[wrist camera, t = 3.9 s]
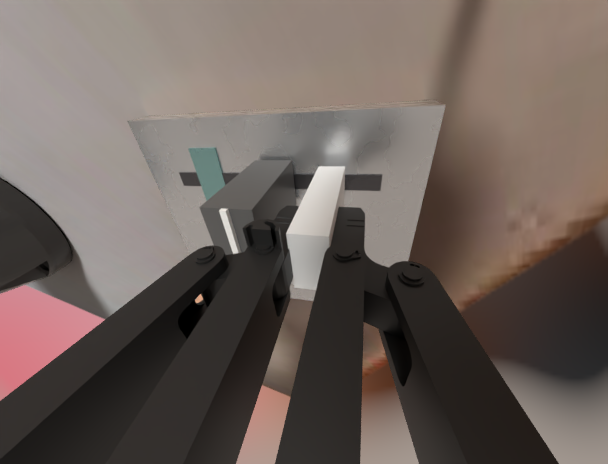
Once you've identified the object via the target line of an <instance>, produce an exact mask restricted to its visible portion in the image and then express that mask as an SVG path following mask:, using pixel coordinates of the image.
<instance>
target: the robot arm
mask: <svg viewBox="0 0 608 464" xmlns="http://www.w3.org/2000/svg"><path fill="white" fill-rule="evenodd" d="M344 192H345V166H319V167H318V169H317V171H316V173H315V175H314V177H313V179H312V181H311V183H310V185H309V187H308V189H307V191H306V193H305V195H304V197H303V199H302V202H301V204H300V206H288V205H287V206H285V207H284V208H283V209H281V210H280V211H279V213H278V214H277V216H276V218H275V219H274V220H269V219H260V220H256V221H252V222H250V223H248V224H247V225H245V226H244V227H243V228H242V229H243V232H244V236H245V239H246V243H247V249H246V250H245V252H242V253H236V254H229V255H225V252H224V250H223V248H221V247H219V246H214V245H212V246H205V247H202V248H200V249H198V250H196V251H194V252H193V253H191V254H190V255H189V256H187V257H186V258H185V259H184V260H182V261H181V262H180V263H178V264H177V265H176V266H175V267H173V268H172V269H171V270H169V271H168V272H167V273H165V274H164V275H163V276H162V277H160V278H159V279H158V280H156V281H155V282H154V283H152V284H151V285H150V286H149V287H147V288H146V289H145V290H143V291H142V292H141V293H140V294H138V295H137V296H136V297H134V298H133V299H132V300H130V301H129V302H128V303H127V304H125V305H124V306H123V307H121V308H120V309H119V310H118V311H116V312H115V313H114V314H112V315H111V316H110V317H108V318H107V319H106V320H105V321H103V322H102V323H101V324H100V325H98V326H97V327H96V328H94V329H93V330H92V331H90V332H89V333H88V334H86V335H85V336H84V337H83V338H81V339H80V340H79V341H78V342H76V343H75V344H73V345H72V346H71V347H70V348H68V349H67V350H66V351H64V352H63V353H62V354H61V355H59V356H58V357H57V358H55V359H54V360H53V361H51V362H50V363H49V364H48V365H46V366H45V367H44V368H42V369H41V370H40V371H39V372H37V373H36V374H35V375H33V376H32V377H31V378H29V379H28V380H27V381H26V382H24V383H23V384H22V385H20V386H19V387H18V388H17V389H15V390H14V391H13V392H11V393H10V394H9V395H8V396H6V397H5V398H4V399H2V400H1V401H0V464H236V461H237V458H238V455H239V452H240V449H241V446H242V443H243V440H244V437H245V434H246V431H247V428H248V425H249V422H250V419H251V415H252V413H253V410H254V407H255V404H256V401H257V398H258V395H259V392H260V389H261V386H262V383H263V380H264V377H265V374H266V371H267V368H268V365H269V362H270V358H271V355H272V352H273V349H274V346H275V343H276V340H277V337H278V334H279V331H280V328H281V325H282V322H283V319H284V316H285V313H286V310H287V307H288V304H289V301H290V296H291V292H290V285H291V282H292V280H293V284H294V288H302V289H310V290H316V292H315V297H314V301H313V305H312V309H311V314H310V318H309V322H308V326H307V331H306V335H305V339H304V343H303V348H302V352H301V356H300V360H299V365H298V369H297V373H296V377H295V382H294V386H293V390H292V394H291V399H290V403H289V407H288V412H287V416H286V420H285V424H284V428H283V433H282V437H281V441H280V445H279V450H278V454H277V458H276V462H275V464H360V444H361V443H360V442H361V401H362V360H363V322H366V323H368V324H370V325H372V326H374V327H376V328H379V333H380V336H381V339H382V343H383V346H384V349H385V353H386V356H387V359H388V362H389V366H390V369H391V372H392V375H393V379H394V382H395V386H396V389H397V392H398V395H399V399H400V402H401V405H402V409H403V412H404V415H405V419H406V422H407V425H408V428H409V432H410V435H411V438H412V442H413V445H414V448H415V452H416V455H417V458H418V461H419V464H559V463H558V462H557V461H556V459H555V457H554V456H553V454H552V453H551V451H550V450H549V448H548V447H547V445H546V443H545V442H544V440H543V439H542V437H541V436H540V434H539V433H538V431H537V430H536V428H535V427H534V425H533V424H532V422H531V421H530V419H529V418H528V416H527V415H526V413H525V412H524V410H523V409H522V407H521V405H520V404H519V403H518V401H517V399H516V398H515V396H514V395H513V393H512V392H511V390H510V389H509V387H508V386H507V384H506V383H505V381H504V380H503V378H502V376H501V375H500V373H499V372H498V370H497V369H496V367H495V366H494V364H493V363H492V361H491V360H490V358H489V357H488V355H487V354H486V352H485V351H484V349H483V348H482V346H481V345H480V343H479V341H478V340H477V339H476V337H475V335H474V334H473V333H472V331H471V330H470V328H469V326H468V325H467V323H466V322H465V320H464V319H463V317H462V316H461V314H460V313H459V311H458V310H457V308H456V306H455V305H454V303H453V302H452V300H451V299H450V297H449V296H448V294H447V293H446V291H445V290H444V288H443V287H442V285H441V284H440V282H439V281H438V279H437V278H436V276H435V275H434V274H433V273H432V272H431V270H430V269H428V268H427V267H425V266H423V265H421V264H418V263H415V262H411V261H401V262H396V263H394V264H393V265H391V266H390V267H386V266H383V265H380V264H378V263H375V262H374V261H372V260H371V259H370V258H369V257H368V256H367V255H366V253H365V249H364V242H365V213H364V211H363V210H362V209H361V208H358V207H344ZM71 258H72V254H71V249H70V247H69V244H68V242H67V240H66V239H65V237H64V236H63V234H62V233H61V231H60V230H59V229H58V227H57V226H56V225H55V224H54V223H53V221H52V220H51V219H50V218H49V217H48V216H47V215H46V214H45V213H44V212H43V211H42V210H41V209H40V208H39V207H38V206H36V205H35V204H34V203H33V202H32V201H31V200H29V199H28V198H27V197H26V196H24V195H23V194H22V193H21V192H19V191H18V190H16V189H15V188H14V187H12V186H11V185H9V184H8V183H6V182H4V181H3V180H1V179H0V293H3V292H6V291H9V290H12V289H15V288H17V287H20V286H23V285H26V284H28V283H31V282H34V281H37V280H39V279H42V278H45V277H48V276H50V275H52V274H54V273H55V272H57V271H58V270H60V269H61V268H63V267H64V266H66V265H67V264H69V263H70V261H71ZM200 294H201V296H202V298H203V300H202V301H200V302H199V303H196V302H195V299H196V298H197V297H198V296H199V295H200Z"/></svg>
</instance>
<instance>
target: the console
mask: <svg viewBox="0 0 608 464" xmlns="http://www.w3.org/2000/svg"><path fill="white" fill-rule="evenodd" d="M445 106H446V105H445V104H443V103H441V102H439V101H438V100H425V101H407V102H389V103H370V104H352V105H334V106H316V107H298V108H280V109H262V110H244V111H226V112H208V113H190V114H172V115H154V116H147V117H143V118H138V119H134V120H130V121H128V123H129V125H130V127H131V130H132V132H133V134H134V136H135V138H136V140H137V142H138V145H139V147H140V149H141V151H142V153H143V155H144V157H145V159H146V162H147V164H148V166H149V168H150V170H151V172H152V174H153V177H154V179H155V181H156V183H157V185H158V187H159V189H160V192H161V194H162V196H163V198H164V200H165V202H166V204H167V206H168V209H169V211H170V213H171V215H172V217H173V219H174V221H175V224H176V226H177V228H178V230H179V232H180V234H181V236H182V239H183V241H184V243H185V245H186V247H187V249H188V251H189V253H190V254H191V253H193V252H194V251H196V250H198V249H200V248H202V247H205V246H212V245H213V242H212V239H211V237H210V234H209V232H208V229H207V226H206V224H205V221H204V218H203V216H202V213H201V211H200V208H199V207H200V206H201V205H203V204H204V203H205V202H206V201H207V200H209V199H210V198H211V197H212V196H213V195H214V194H216V193H217V192H218V191H219V190H220V189H222V188H223V187H224V186H225V185H226V184H227V183H229V182H230V181H231V180H232V179H233V178H235V177H236V176H237V175H238V174H239V173H241V172H242V171H243V170H244V169H245V168H246V167H248V166H249V165H250V164H251V163H252V162H254V161H255V160H292V167H293V176H294V185H295V195H296V206H300V204H301V202H302V199H303V197H304V195H305V193H306V191H307V189H308V187H309V185H310V183H311V181H312V179H313V177H314V175H315V173H316V171H317V169H318V167H319V166H345V192H344V207H358V208H361V209H362V210H363V211H364V213H365V242H364V249H365V253H366V255H367V256H368V257H369V258H370V259H371V260H372V261H374V262H375V263H378V264H380V265H383V266H386V267H390V266H391V265H393V264H394V263H396V262H401V261H408V260H409V256H410V251H411V247H412V243H413V239H414V235H415V231H416V227H417V222H418V218H419V214H420V210H421V206H422V202H423V197H424V193H425V189H426V185H427V181H428V177H429V172H430V168H431V164H432V160H433V156H434V152H435V148H436V143H437V139H438V135H439V131H440V127H441V123H442V118H443V114H444V110H445ZM290 292H291V296H290V298H294V299H301V300H308V301H314V297H315V292H316V290H310V289H302V288H294V284H293V280H292V282H291V285H290Z"/></svg>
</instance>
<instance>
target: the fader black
mask: <svg viewBox="0 0 608 464" xmlns="http://www.w3.org/2000/svg"><path fill="white" fill-rule="evenodd" d="M287 205H288V206H296V195H295V185H294V176H293V167H292V160H255V161H254V162H252V163H251V164H250V165H249V166H248V167H246V168H245V169H244V170H243V171H242V172H241V173H239V174H238V175H237V176H236V177H235V178H233V179H232V180H231V181H230V182H229V183H227V184H226V185H225V186H224V187H223V188H222V189H220V190H219V191H218V192H217V193H216V194H214V195H213V196H212V197H211V198H210V199H209V200H207V201H206V202H205V203H204V204H203V205H201V206H200V207H199V208H200V211H201V213H202V216H203V218H204V221H205V224H206V226H207V229H208V232H209V234H210V237H211V239H212V242H213V245H214V246H219V247H221V248H223V250H224V252H225V255H229V254H236V253H242V252H245V250H246V249H247V243H246V239H245V236H244V232H243V229H242V228H243V227H244V226H245V225H247V224H248V223H250V222H252V221H256V220H260V219H269V220H274V219H275V218H276V216H277V214H278V213H279V211H280V210H281V209H283V208H284V207H285V206H287Z"/></svg>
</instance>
